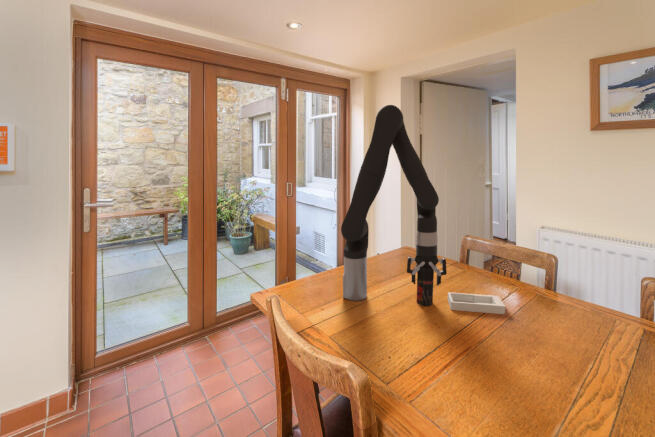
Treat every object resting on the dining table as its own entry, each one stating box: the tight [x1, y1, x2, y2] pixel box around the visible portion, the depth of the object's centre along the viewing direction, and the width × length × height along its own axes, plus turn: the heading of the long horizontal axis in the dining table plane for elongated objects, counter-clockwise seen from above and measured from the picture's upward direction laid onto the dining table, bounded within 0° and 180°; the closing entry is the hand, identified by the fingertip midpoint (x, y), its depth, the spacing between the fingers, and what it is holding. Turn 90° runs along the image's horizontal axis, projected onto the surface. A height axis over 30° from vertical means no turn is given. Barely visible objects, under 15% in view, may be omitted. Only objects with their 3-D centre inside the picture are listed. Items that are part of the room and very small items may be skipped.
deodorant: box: [416, 267, 435, 307], centre depth 121 cm, size 6×6×15 cm
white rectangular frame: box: [447, 291, 506, 315], centre depth 118 cm, size 18×9×3 cm, turn 77°
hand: (426, 284), depth 121 cm, fingers open, 8 cm apart
